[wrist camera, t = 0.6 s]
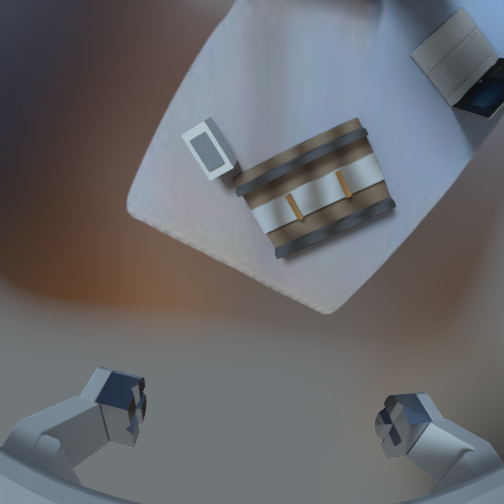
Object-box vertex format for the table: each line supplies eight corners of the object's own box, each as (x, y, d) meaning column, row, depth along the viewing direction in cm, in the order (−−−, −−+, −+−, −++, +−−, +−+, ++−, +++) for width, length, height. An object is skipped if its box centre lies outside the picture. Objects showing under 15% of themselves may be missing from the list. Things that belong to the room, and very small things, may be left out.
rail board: (356, 117, 46) (362, 120, 42) (391, 204, 54) (398, 213, 50) (233, 177, 54) (230, 185, 50) (281, 253, 61) (281, 265, 58)
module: (210, 117, 48) (203, 121, 44) (237, 159, 52) (233, 168, 48) (189, 130, 50) (180, 135, 45) (215, 171, 53) (209, 181, 49)
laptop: (460, 7, 30) (500, -1, 19) (497, 59, 34) (539, 63, 23) (408, 55, 39) (443, 52, 28) (450, 108, 42) (489, 121, 31)
